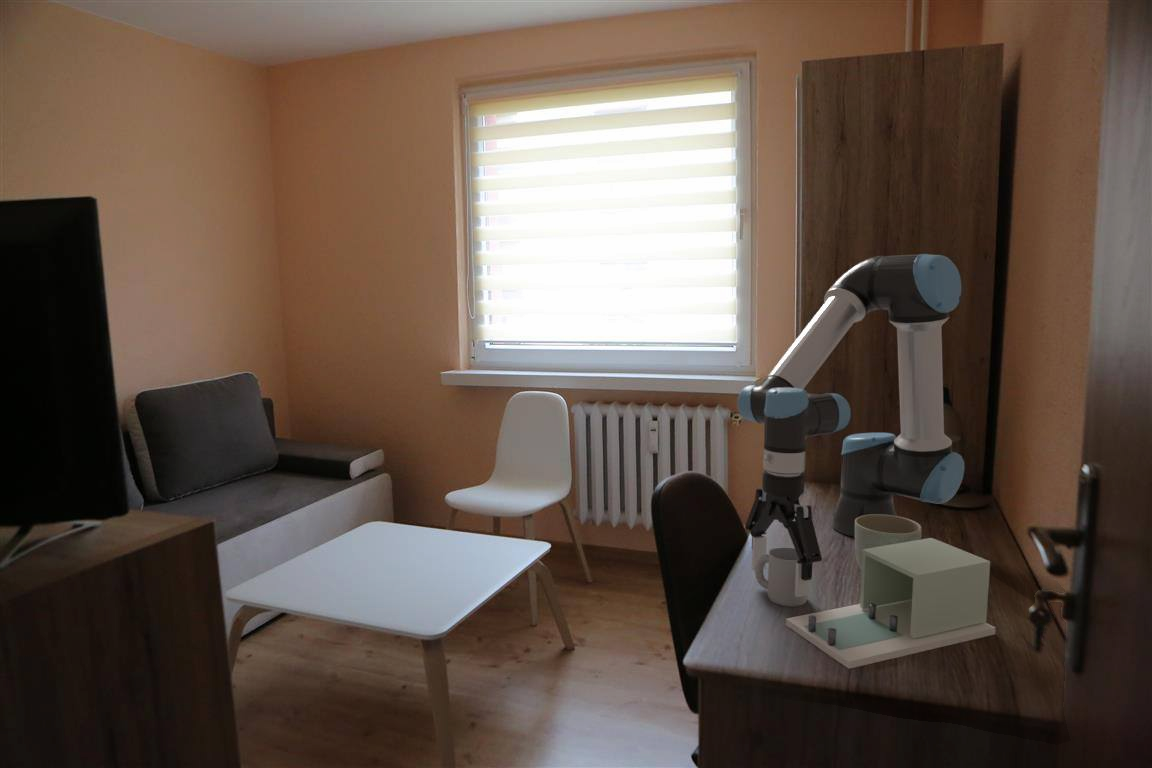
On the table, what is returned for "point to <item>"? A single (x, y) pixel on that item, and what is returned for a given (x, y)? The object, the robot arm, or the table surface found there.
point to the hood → (927, 583)
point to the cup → (780, 576)
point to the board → (876, 634)
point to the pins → (833, 631)
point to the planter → (883, 532)
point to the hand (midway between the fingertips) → (779, 581)
